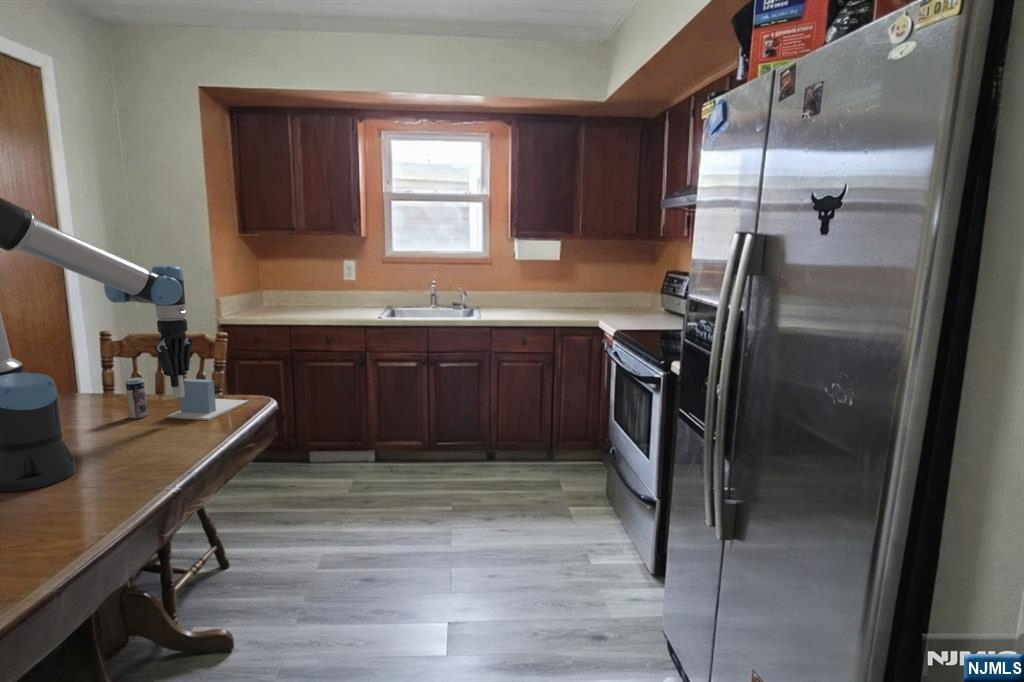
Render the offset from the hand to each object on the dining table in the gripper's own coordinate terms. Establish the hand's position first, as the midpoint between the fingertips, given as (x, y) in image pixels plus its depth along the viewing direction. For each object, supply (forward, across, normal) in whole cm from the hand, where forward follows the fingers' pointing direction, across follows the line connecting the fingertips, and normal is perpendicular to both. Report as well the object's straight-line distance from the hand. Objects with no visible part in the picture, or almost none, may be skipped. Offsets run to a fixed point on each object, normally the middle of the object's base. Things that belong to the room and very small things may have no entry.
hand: (178, 396), depth 166 cm
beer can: (+8, +1, +15) cm, 17 cm away
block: (+7, +8, 0) cm, 10 cm away
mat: (+8, +12, -1) cm, 14 cm away
